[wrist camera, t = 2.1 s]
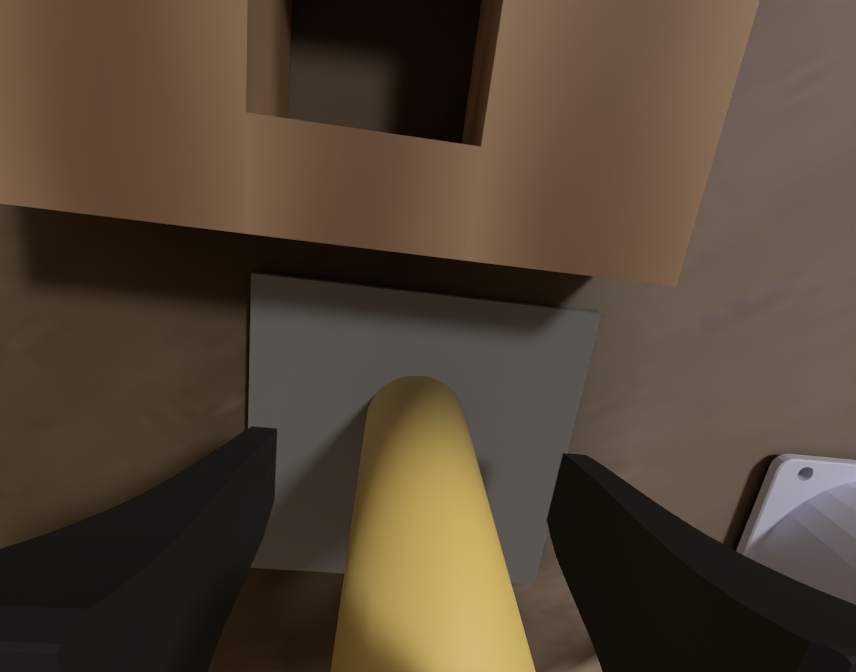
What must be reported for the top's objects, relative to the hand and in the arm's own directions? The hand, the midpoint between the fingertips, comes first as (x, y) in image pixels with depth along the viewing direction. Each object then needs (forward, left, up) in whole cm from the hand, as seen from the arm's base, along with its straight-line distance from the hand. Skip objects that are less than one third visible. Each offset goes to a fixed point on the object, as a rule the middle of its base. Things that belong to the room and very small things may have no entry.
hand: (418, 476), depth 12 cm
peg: (0, 0, -3) cm, 3 cm away
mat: (0, +1, -3) cm, 3 cm away
